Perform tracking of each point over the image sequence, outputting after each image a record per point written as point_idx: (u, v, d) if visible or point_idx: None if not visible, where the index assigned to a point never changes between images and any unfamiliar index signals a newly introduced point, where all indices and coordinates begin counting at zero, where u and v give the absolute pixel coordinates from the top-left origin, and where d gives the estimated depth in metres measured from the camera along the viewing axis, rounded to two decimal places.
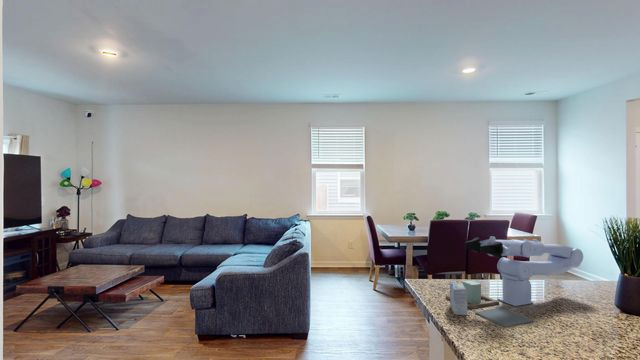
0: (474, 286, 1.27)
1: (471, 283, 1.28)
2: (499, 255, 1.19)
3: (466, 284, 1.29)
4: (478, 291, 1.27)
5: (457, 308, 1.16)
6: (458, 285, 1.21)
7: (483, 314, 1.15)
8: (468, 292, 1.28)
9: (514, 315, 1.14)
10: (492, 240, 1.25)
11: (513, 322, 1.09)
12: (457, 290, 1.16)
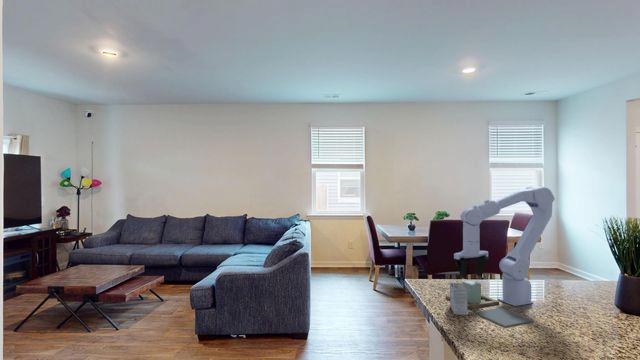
0: (474, 286, 1.27)
1: (471, 283, 1.28)
2: (462, 262, 1.26)
3: (466, 284, 1.29)
4: (478, 291, 1.27)
5: (457, 308, 1.16)
6: (458, 285, 1.21)
7: (483, 314, 1.15)
8: (468, 292, 1.28)
9: (514, 315, 1.14)
10: None
11: (513, 322, 1.09)
12: (457, 290, 1.16)
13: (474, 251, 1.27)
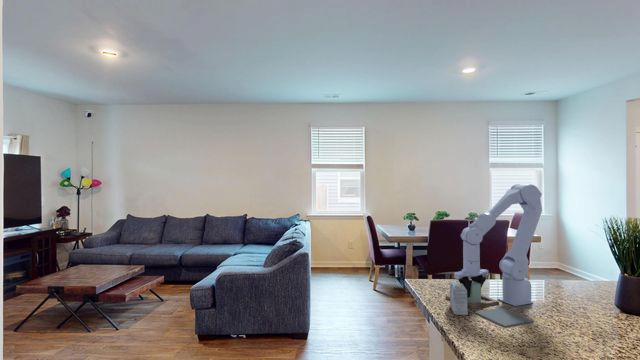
0: (474, 286, 1.27)
1: None
2: (465, 282, 1.26)
3: None
4: (478, 291, 1.27)
5: (457, 308, 1.16)
6: (458, 285, 1.21)
7: (483, 314, 1.15)
8: None
9: (514, 315, 1.14)
10: None
11: (513, 322, 1.09)
12: (457, 290, 1.16)
13: (474, 270, 1.27)
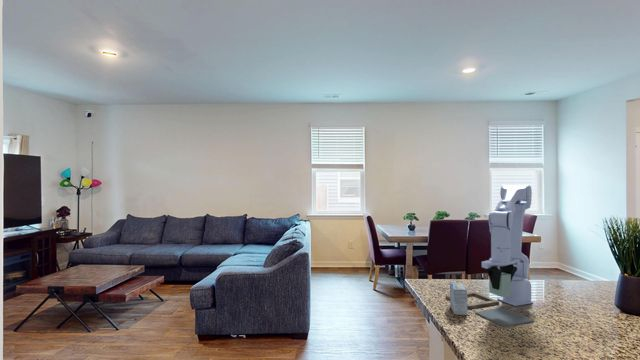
0: (503, 276, 1.12)
1: None
2: (494, 272, 1.12)
3: None
4: (508, 282, 1.13)
5: (457, 308, 1.16)
6: (458, 285, 1.21)
7: (483, 314, 1.15)
8: None
9: (514, 315, 1.14)
10: None
11: (513, 322, 1.09)
12: (457, 290, 1.16)
13: (504, 259, 1.12)
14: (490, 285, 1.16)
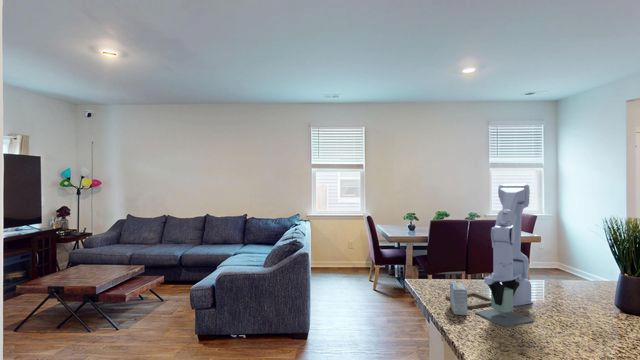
0: (506, 292, 1.11)
1: None
2: (497, 287, 1.11)
3: None
4: (510, 298, 1.12)
5: (457, 308, 1.16)
6: (458, 285, 1.21)
7: (483, 314, 1.15)
8: None
9: (514, 315, 1.14)
10: None
11: (513, 322, 1.09)
12: (457, 290, 1.16)
13: (507, 275, 1.11)
14: (492, 300, 1.15)
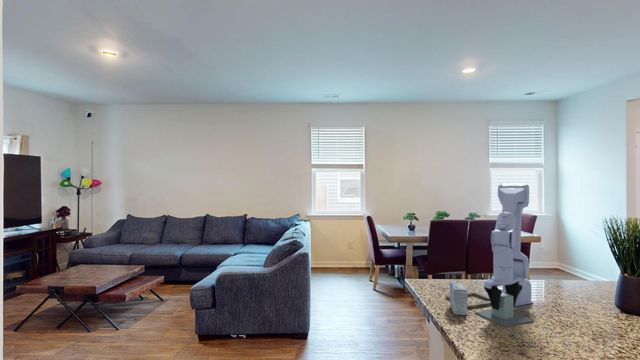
0: (506, 299, 1.11)
1: (502, 295, 1.13)
2: (494, 292, 1.10)
3: None
4: (510, 304, 1.12)
5: (457, 308, 1.16)
6: (458, 285, 1.21)
7: (483, 314, 1.15)
8: (499, 305, 1.13)
9: (514, 315, 1.14)
10: None
11: (513, 322, 1.09)
12: (457, 290, 1.16)
13: (507, 278, 1.11)
14: None
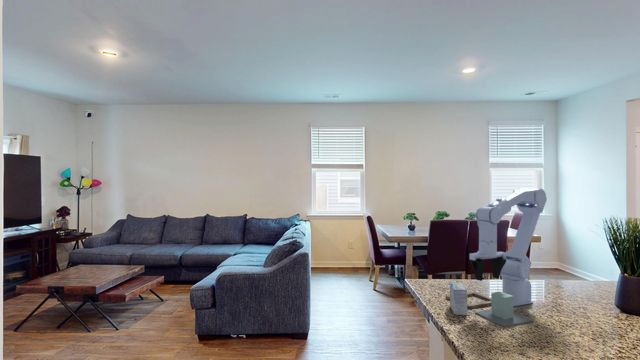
0: (506, 299, 1.11)
1: (502, 295, 1.13)
2: (478, 263, 1.18)
3: (496, 296, 1.14)
4: (510, 304, 1.12)
5: (457, 308, 1.16)
6: (458, 285, 1.21)
7: (483, 314, 1.15)
8: (499, 305, 1.13)
9: (514, 315, 1.14)
10: None
11: (513, 322, 1.09)
12: (457, 290, 1.16)
13: (491, 251, 1.19)
14: (492, 307, 1.15)
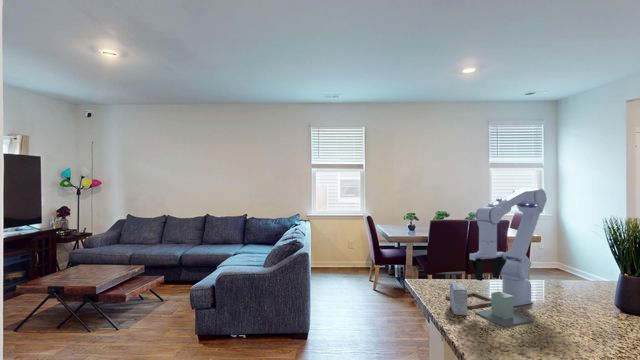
0: (506, 299, 1.11)
1: (502, 295, 1.13)
2: (478, 263, 1.18)
3: (496, 296, 1.14)
4: (510, 304, 1.12)
5: (457, 308, 1.16)
6: (458, 285, 1.21)
7: (483, 314, 1.15)
8: (499, 305, 1.13)
9: (514, 315, 1.14)
10: None
11: (513, 322, 1.09)
12: (457, 290, 1.16)
13: (491, 251, 1.19)
14: (492, 307, 1.15)
